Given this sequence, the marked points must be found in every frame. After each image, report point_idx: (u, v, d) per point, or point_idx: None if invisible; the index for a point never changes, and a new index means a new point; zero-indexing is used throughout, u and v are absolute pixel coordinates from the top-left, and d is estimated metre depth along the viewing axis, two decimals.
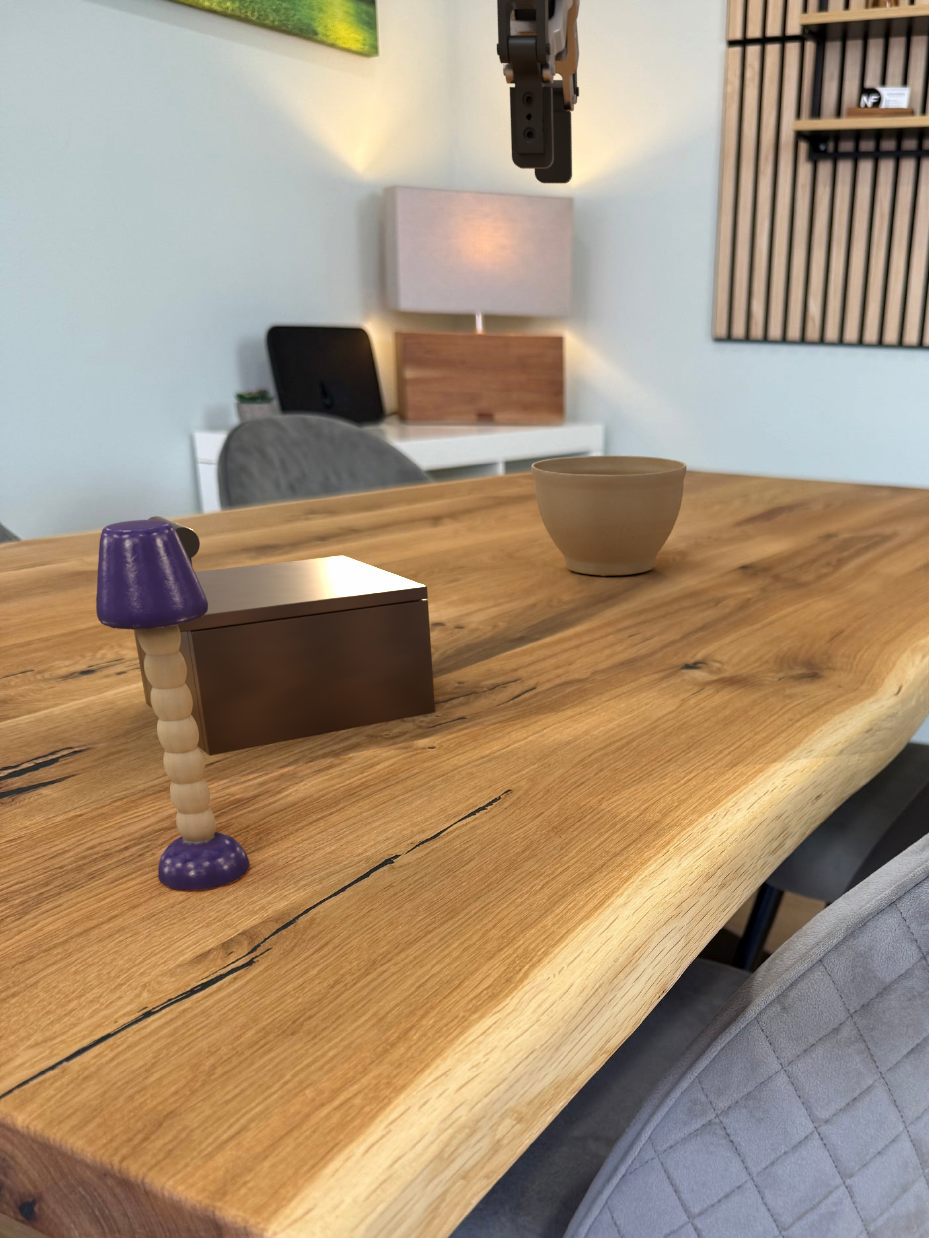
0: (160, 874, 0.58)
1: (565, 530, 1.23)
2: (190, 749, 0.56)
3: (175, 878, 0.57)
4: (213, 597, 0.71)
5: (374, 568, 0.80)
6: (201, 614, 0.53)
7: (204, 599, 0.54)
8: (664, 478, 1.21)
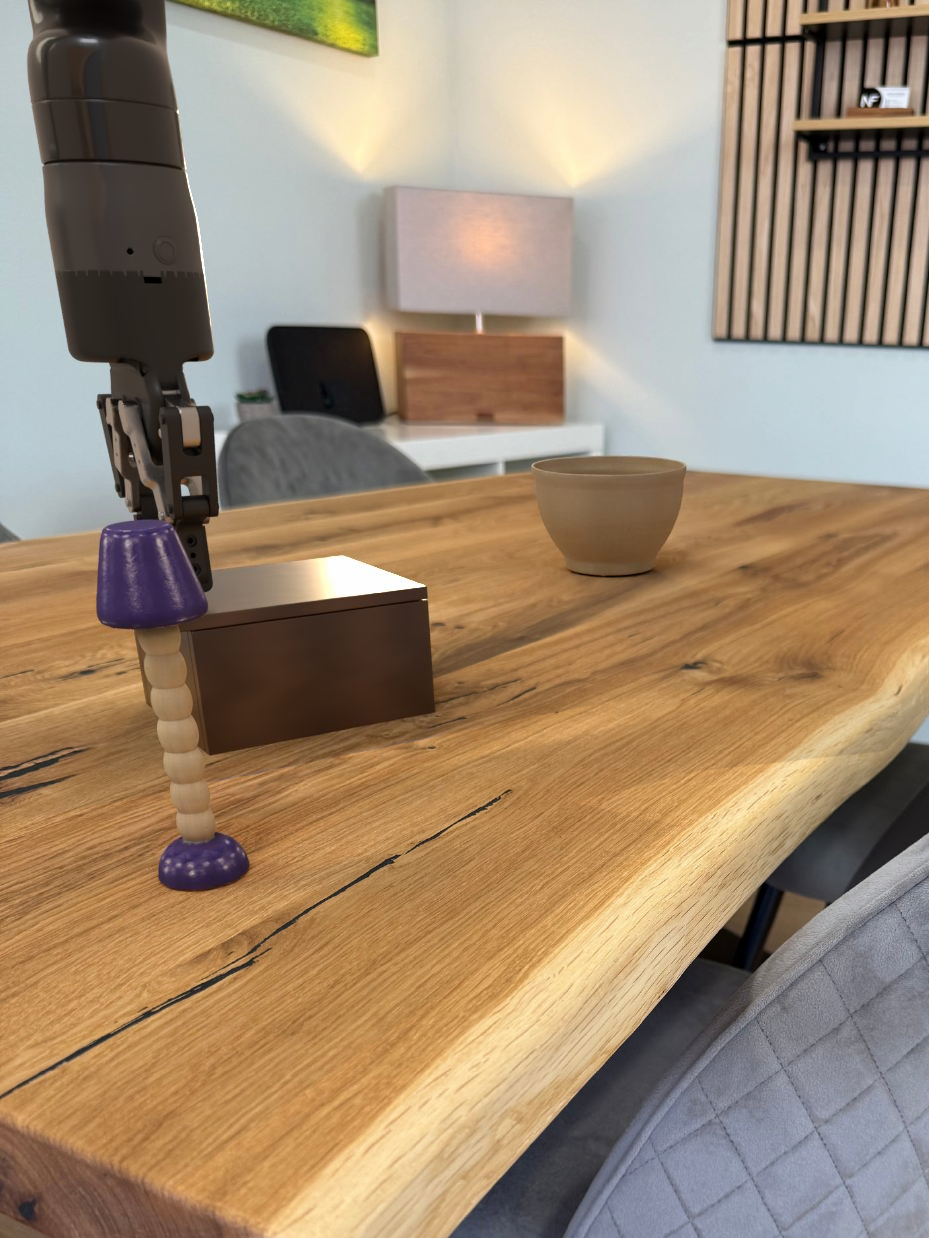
0: (160, 874, 0.58)
1: (565, 530, 1.23)
2: (190, 749, 0.56)
3: (175, 878, 0.57)
4: (213, 597, 0.71)
5: (374, 568, 0.80)
6: (201, 614, 0.53)
7: (204, 599, 0.54)
8: (664, 478, 1.21)
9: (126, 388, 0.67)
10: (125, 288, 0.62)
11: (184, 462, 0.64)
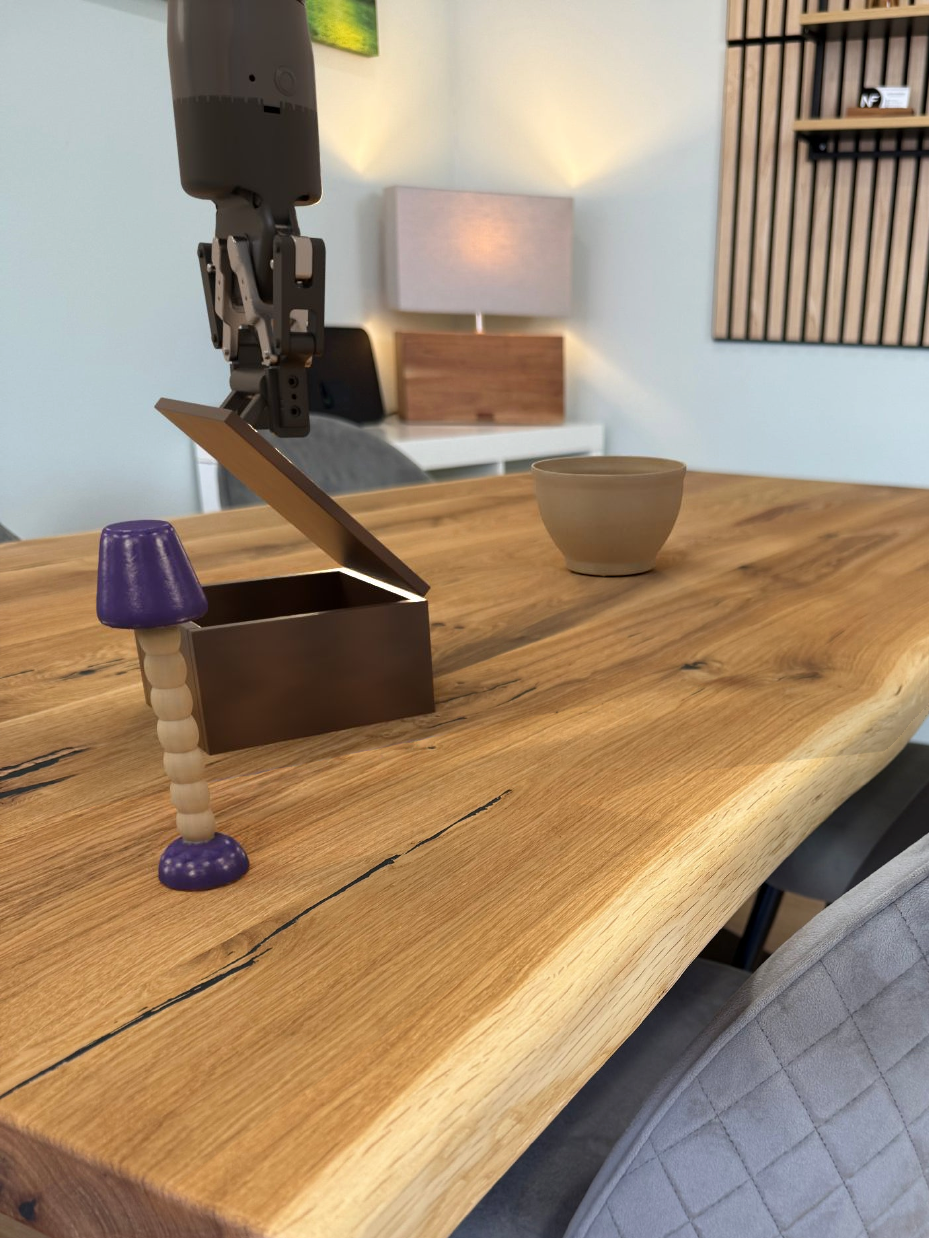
0: (160, 874, 0.58)
1: (565, 530, 1.23)
2: (190, 749, 0.56)
3: (175, 878, 0.57)
4: None
5: None
6: (201, 614, 0.53)
7: (204, 599, 0.54)
8: (664, 478, 1.21)
9: (234, 227, 0.67)
10: (245, 116, 0.62)
11: (295, 293, 0.64)
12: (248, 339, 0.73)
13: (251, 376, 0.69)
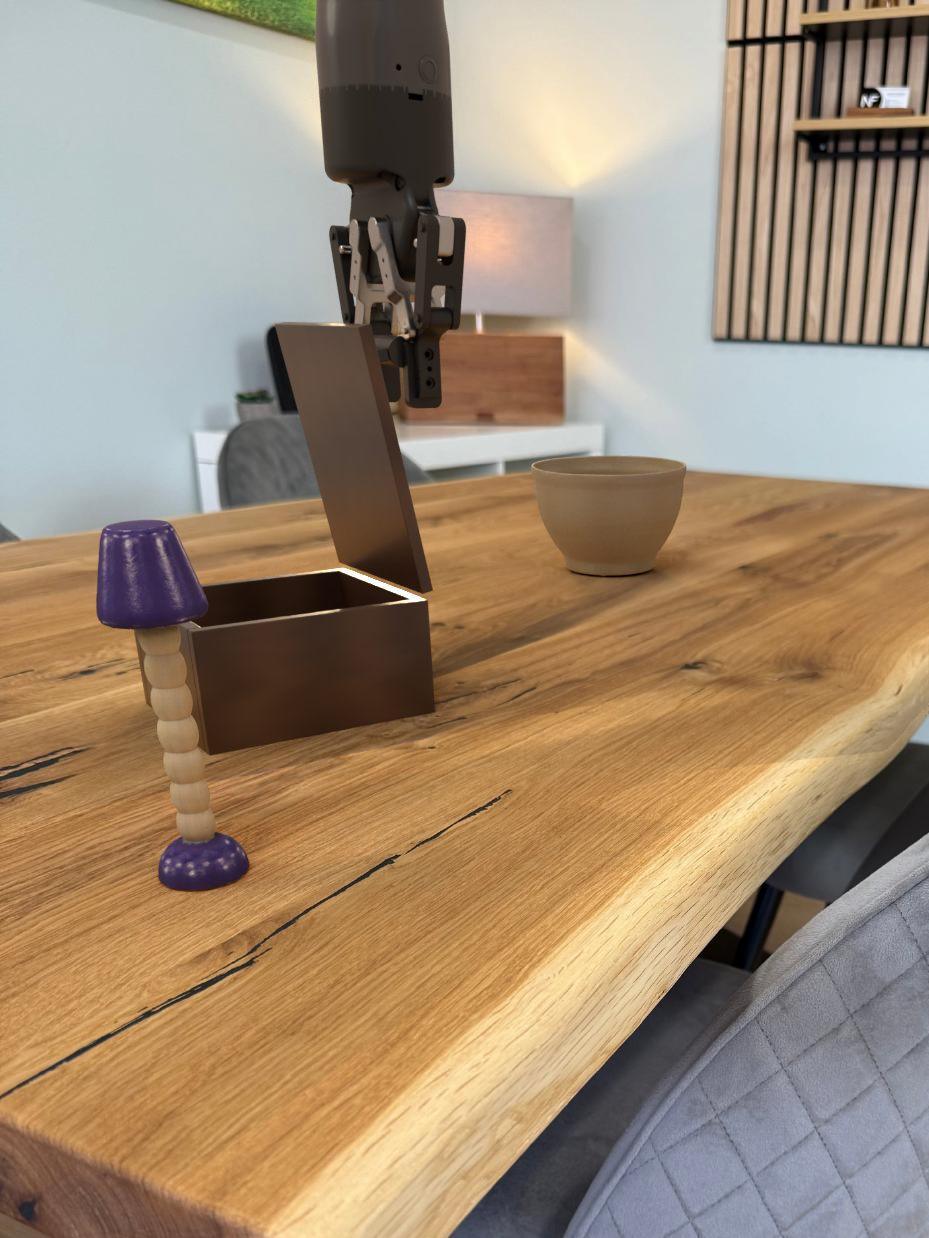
0: (160, 874, 0.58)
1: (565, 530, 1.23)
2: (190, 749, 0.56)
3: (175, 878, 0.57)
4: None
5: None
6: (201, 614, 0.53)
7: (204, 599, 0.54)
8: (664, 478, 1.21)
9: (373, 209, 0.71)
10: (391, 103, 0.67)
11: (437, 270, 0.68)
12: (378, 316, 0.77)
13: (386, 336, 0.73)
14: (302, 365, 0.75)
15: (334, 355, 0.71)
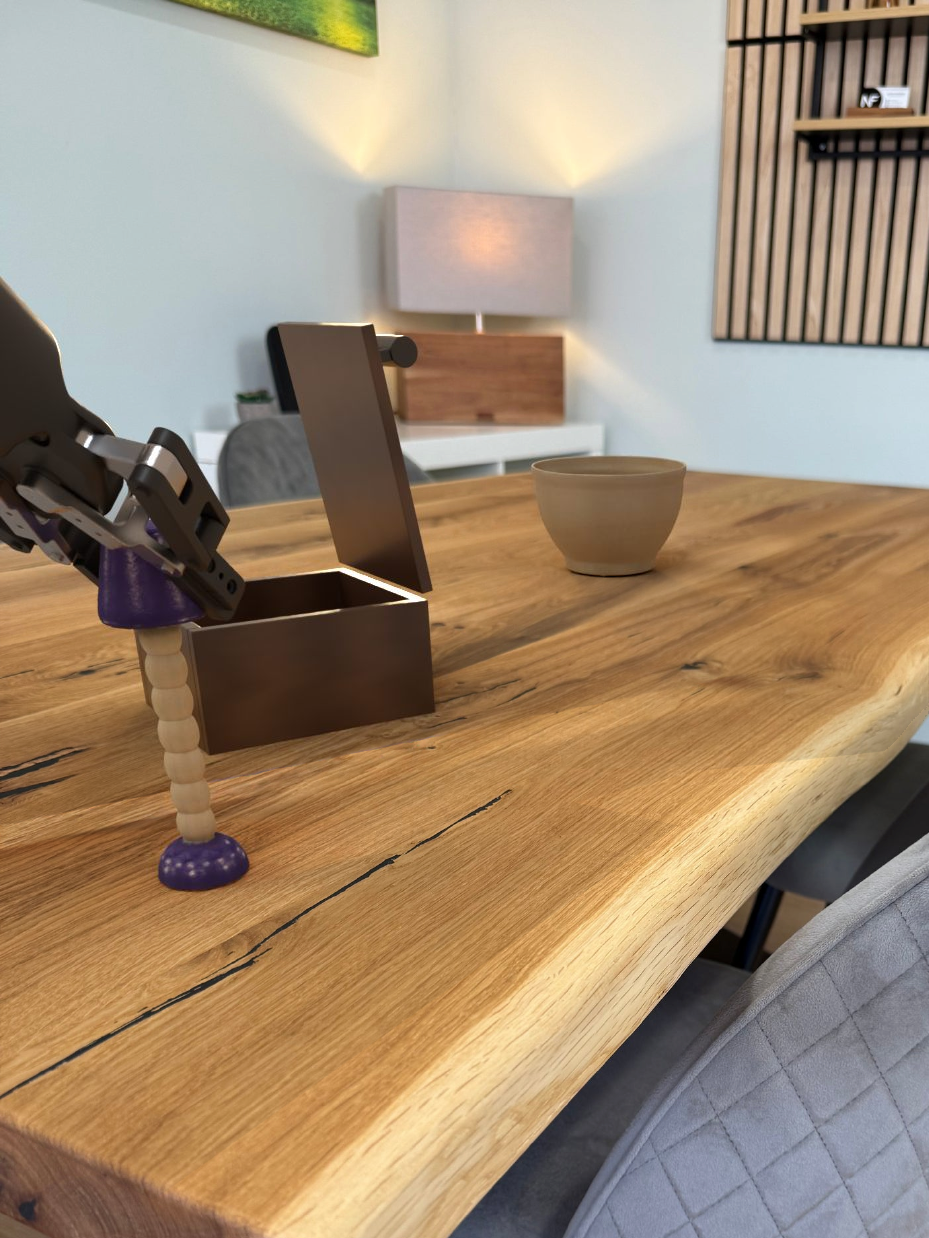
0: (160, 874, 0.58)
1: (565, 530, 1.23)
2: (191, 749, 0.56)
3: (175, 878, 0.57)
4: None
5: None
6: (202, 614, 0.53)
7: None
8: (664, 478, 1.21)
9: None
10: None
11: None
12: None
13: (388, 336, 0.73)
14: (304, 365, 0.75)
15: (336, 354, 0.71)
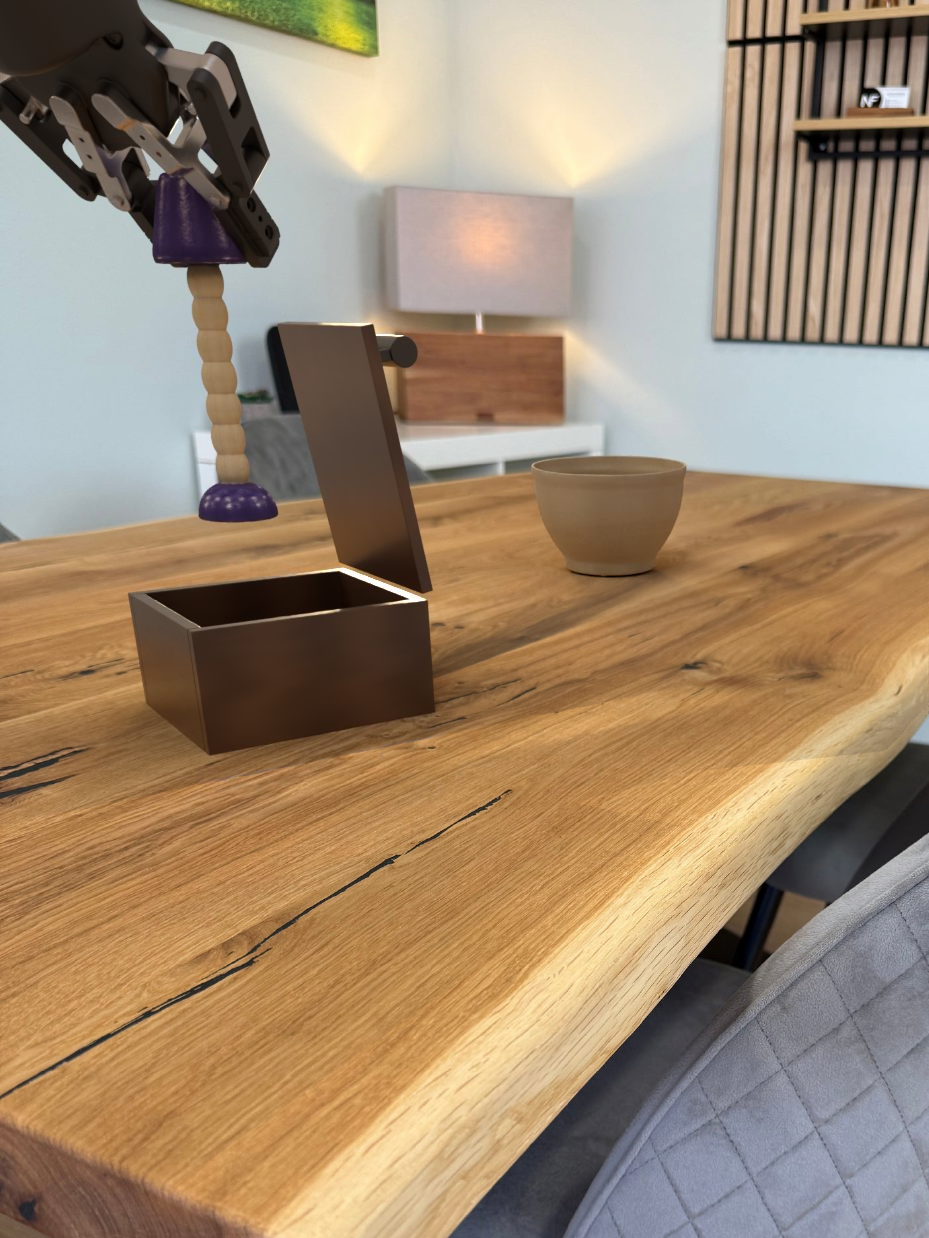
0: (200, 510, 0.66)
1: (565, 530, 1.23)
2: (230, 391, 0.64)
3: (214, 511, 0.65)
4: None
5: None
6: (243, 259, 0.61)
7: None
8: (664, 478, 1.21)
9: None
10: None
11: None
12: (217, 172, 0.57)
13: (388, 336, 0.73)
14: (304, 365, 0.75)
15: (336, 354, 0.71)
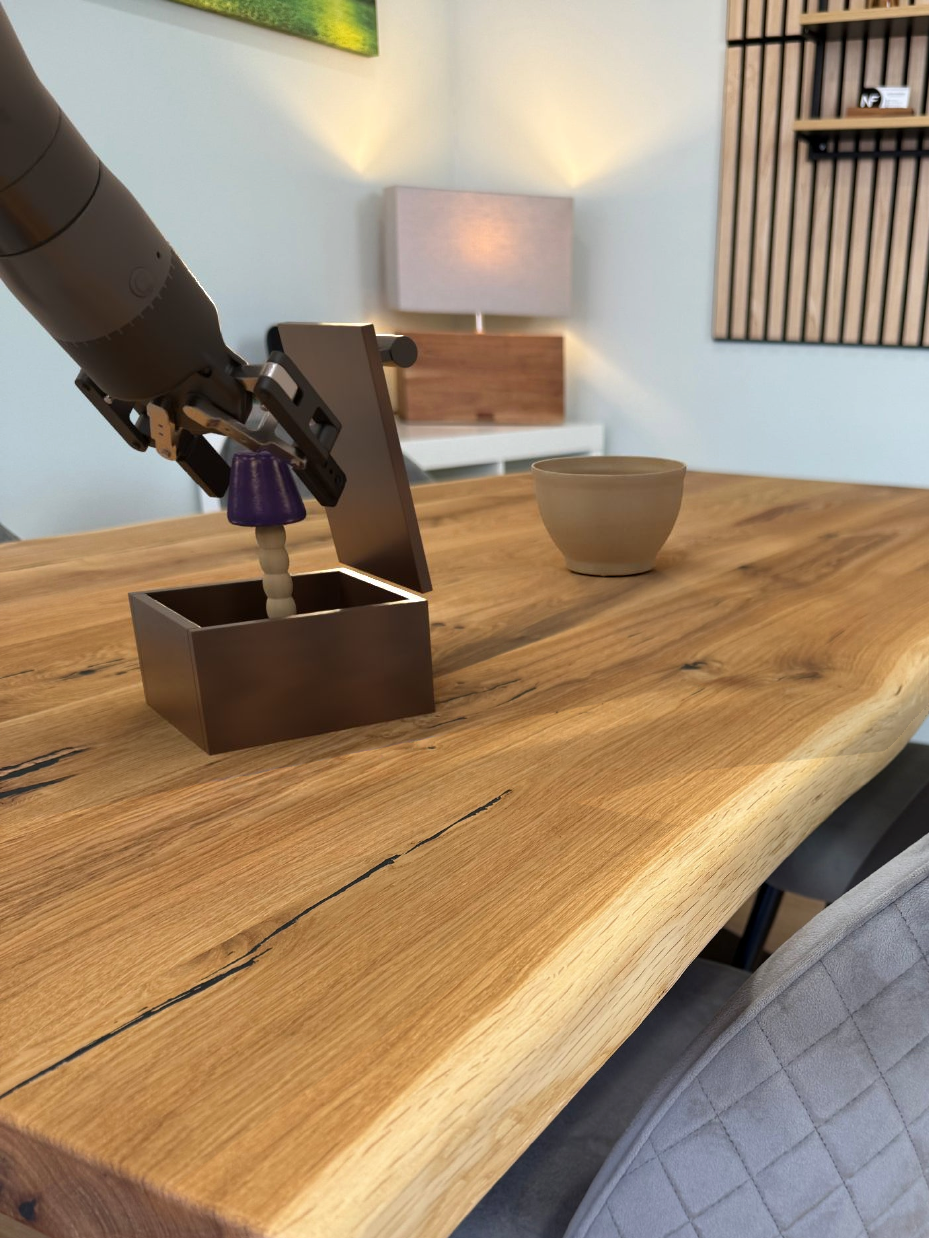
0: None
1: (565, 530, 1.23)
2: None
3: None
4: None
5: None
6: (302, 518, 0.73)
7: (304, 508, 0.73)
8: (664, 478, 1.21)
9: None
10: None
11: None
12: None
13: (388, 336, 0.73)
14: (304, 365, 0.75)
15: (336, 354, 0.71)
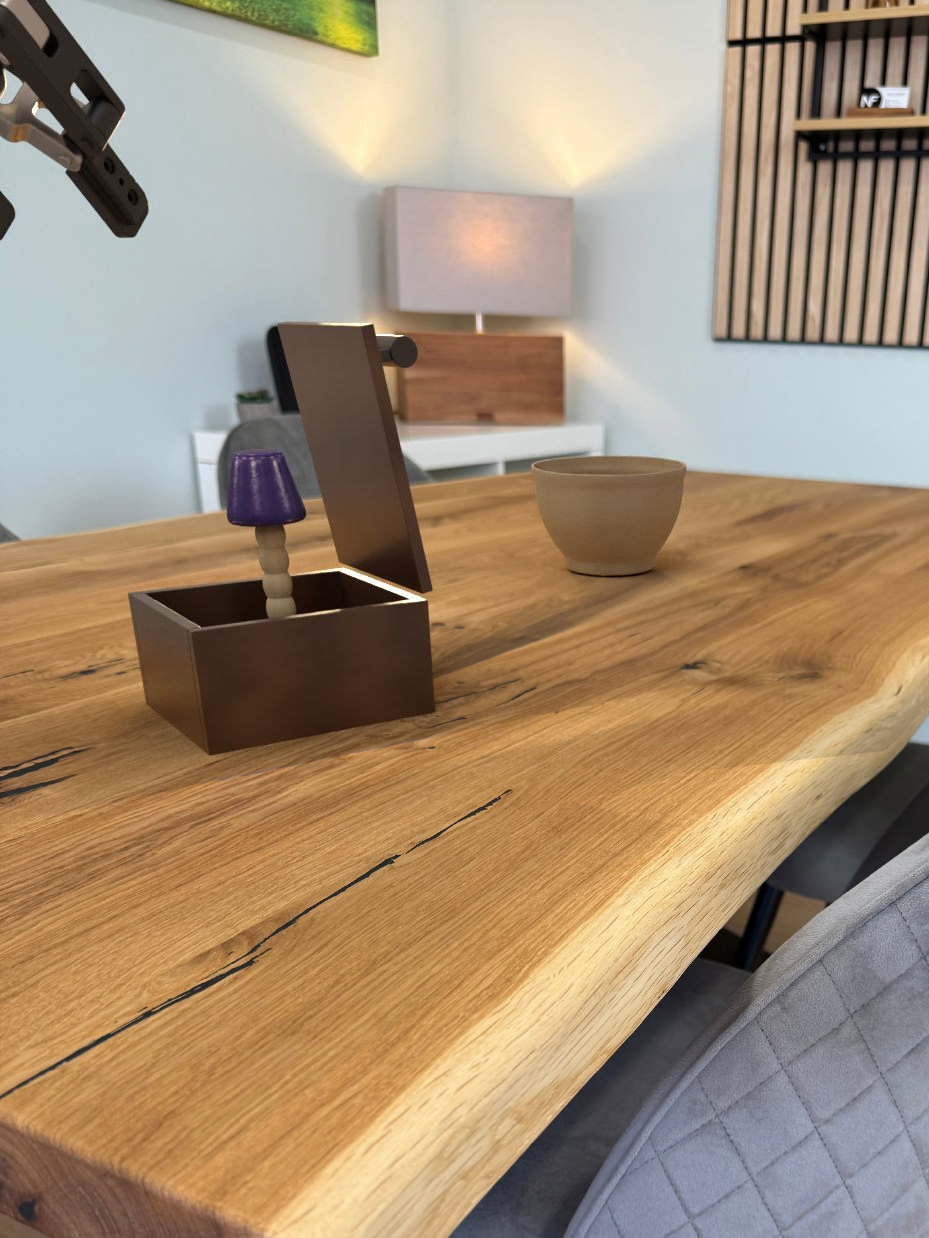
0: None
1: (565, 530, 1.23)
2: None
3: None
4: None
5: None
6: (302, 518, 0.73)
7: (304, 507, 0.73)
8: (664, 478, 1.21)
9: None
10: None
11: None
12: None
13: (388, 336, 0.73)
14: (304, 365, 0.75)
15: (336, 354, 0.71)
